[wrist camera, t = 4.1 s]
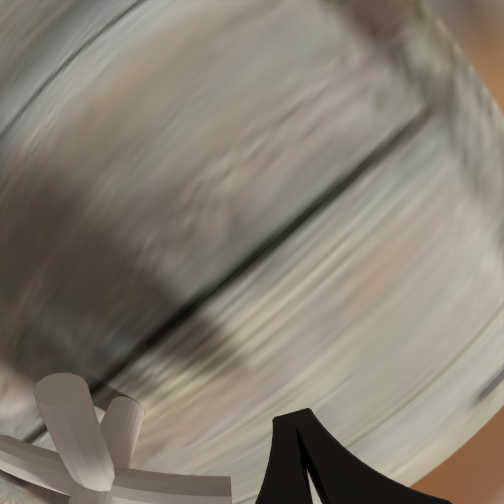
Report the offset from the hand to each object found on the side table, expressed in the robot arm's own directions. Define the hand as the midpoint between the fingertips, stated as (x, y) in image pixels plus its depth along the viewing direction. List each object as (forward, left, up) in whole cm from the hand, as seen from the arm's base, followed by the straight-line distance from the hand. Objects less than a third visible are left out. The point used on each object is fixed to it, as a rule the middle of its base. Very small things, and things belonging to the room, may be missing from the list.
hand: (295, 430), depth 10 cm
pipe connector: (0, +8, -4) cm, 8 cm away
